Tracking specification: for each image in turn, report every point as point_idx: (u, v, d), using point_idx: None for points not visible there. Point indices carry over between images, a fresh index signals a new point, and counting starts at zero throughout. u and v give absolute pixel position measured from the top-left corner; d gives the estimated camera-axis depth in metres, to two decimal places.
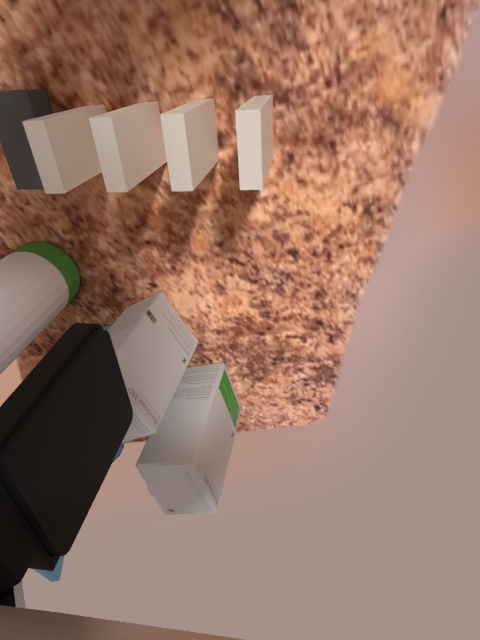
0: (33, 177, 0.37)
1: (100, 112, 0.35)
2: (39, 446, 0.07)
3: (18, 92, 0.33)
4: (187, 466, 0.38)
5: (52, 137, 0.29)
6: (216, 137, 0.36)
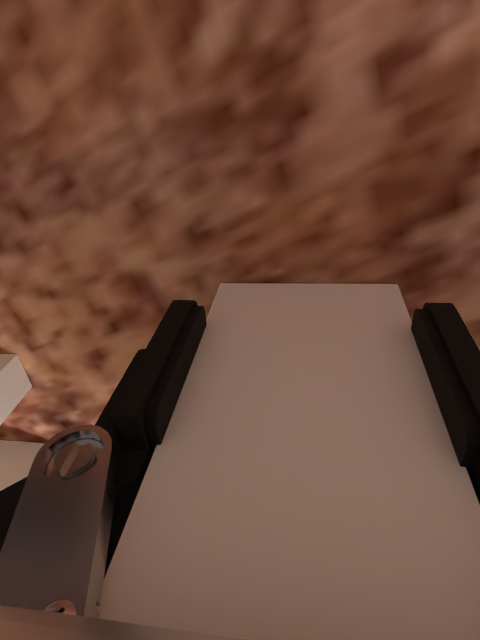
0: None
1: None
2: (170, 406, 0.07)
3: None
4: None
5: None
6: None
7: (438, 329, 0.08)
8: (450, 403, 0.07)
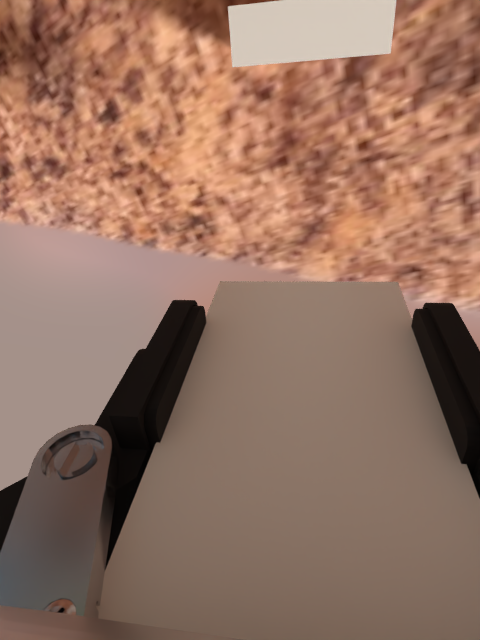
0: None
1: None
2: (170, 406, 0.07)
3: None
4: None
5: None
6: None
7: (438, 329, 0.08)
8: (450, 403, 0.07)
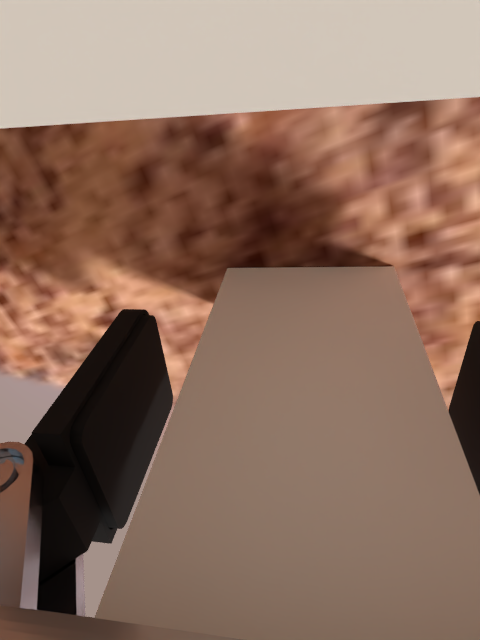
0: None
1: None
2: (104, 421, 0.07)
3: None
4: None
5: None
6: None
7: None
8: None
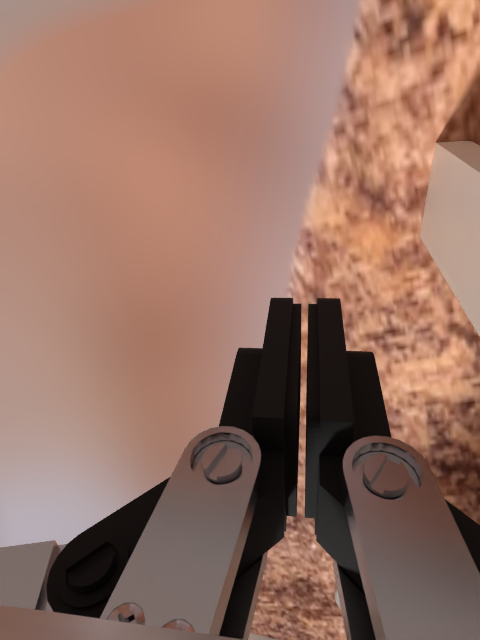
0: None
1: None
2: None
3: None
4: None
5: None
6: None
7: (318, 322, 0.08)
8: None
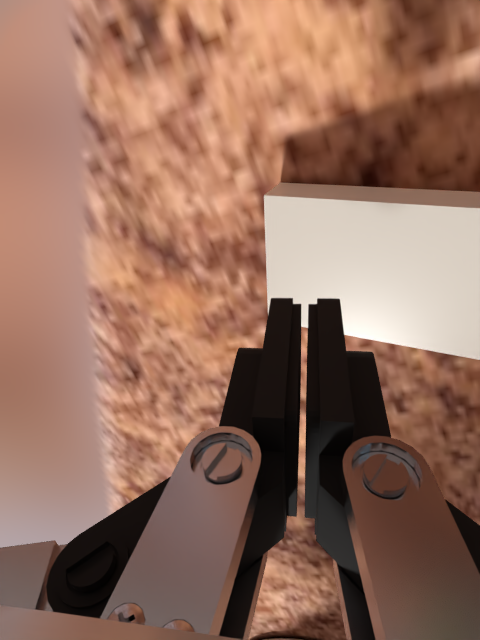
0: None
1: None
2: None
3: None
4: None
5: None
6: None
7: (318, 322, 0.08)
8: (308, 390, 0.07)
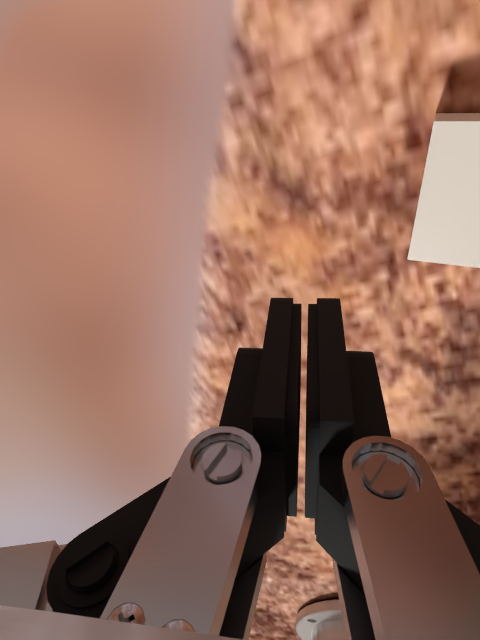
0: None
1: None
2: None
3: None
4: None
5: None
6: None
7: (318, 322, 0.08)
8: (308, 390, 0.07)
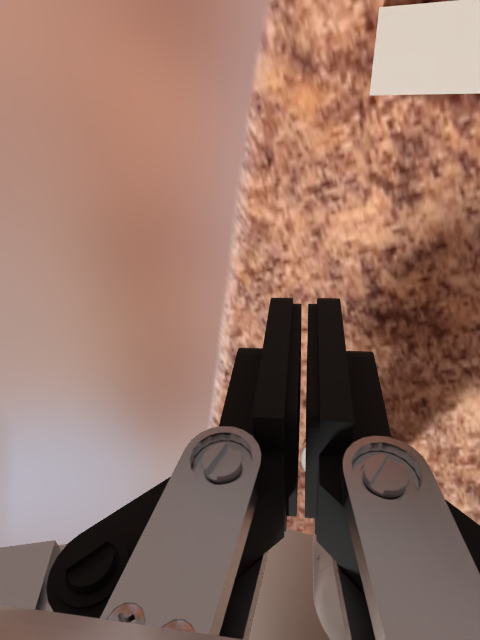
0: None
1: None
2: None
3: None
4: None
5: None
6: None
7: (318, 322, 0.08)
8: None
